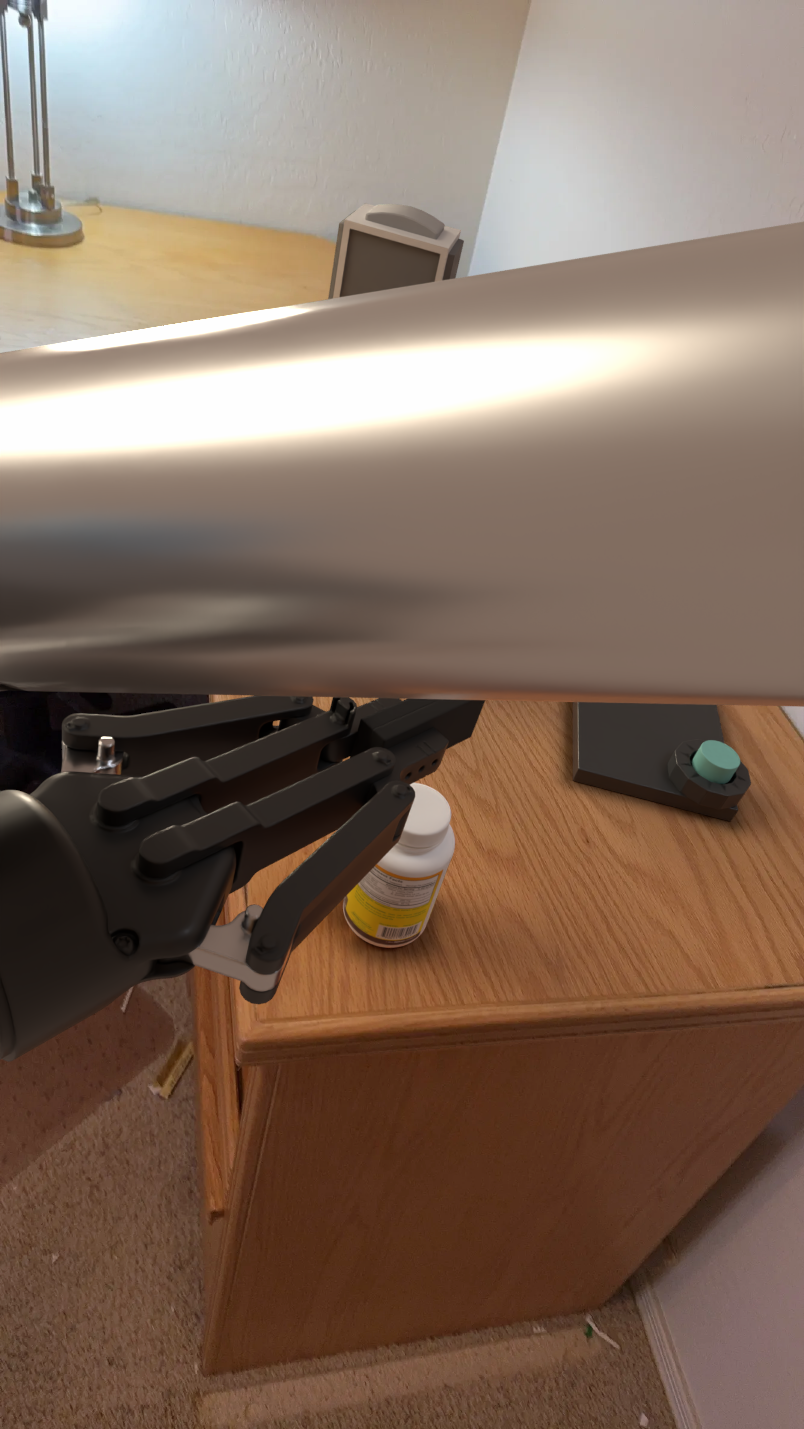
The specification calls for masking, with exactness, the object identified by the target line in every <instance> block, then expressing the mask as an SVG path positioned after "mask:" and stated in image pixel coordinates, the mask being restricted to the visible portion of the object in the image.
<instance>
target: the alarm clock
mask: <svg viewBox="0 0 804 1429" xmlns="http://www.w3.org/2000/svg"><path fill="white" fill-rule="evenodd" d="M461 232H462V229H459V228H455V227H451V226H448V225H445V223H444V222H442V221H441V220H440V219H439V218H437V217H435V215H432V214H430V213H428V212H426V211H425V210H422V209H419V208H417V207H415V206H411V205H405V204H399V203H382V204H376V205H373V204H369V203H367V202H365V203H363V204H362V205H361V206H359V207H358V208H357V209H355V210H353V212H351V213H350V214H348V216H346V217H345V218H344V219H342V220H341V221H340V222H338V229H337V235H336V243H335V247H334V248H335V250H334V257H333V263H332V270H331V277H330V283H329V291H328V298H327V299H333V298H339V297H345V296H351V295H357V294H363V293H369V292H376V291H382V290H388V289H394V288H400V287H406V286H412V285H418V284H424V283H431V282H437V281H443V280H449V279H455V278H457V273H458V269H459V265H460V260H461V256H462V252H463V247H464V244H465V240H463V239H462V238H460V236H461Z"/></svg>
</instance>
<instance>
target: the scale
mask: <svg viewBox="0 0 804 1429" xmlns="http://www.w3.org/2000/svg"><path fill="white" fill-rule="evenodd" d="M723 733H724V732H723V729H722V723H721V719H720V715H719V709H718V705H699V704H650V703H600V702H572V781H573V782H575V783H576V782H577V783H580V784H584V785H588V786H592V787H596V788H599V789H603V790H607V791H611V792H614V793H619V794H622V795H627V796H630V797H635V798H638V799H642V800H646V801H648V802H649V801H650V802H654V803H656V804H657V803H658V804H661V805H666V806H669V807H673V808H676V809H681V810H684V811H688V812H691V813H695V814H700V815H703V816H706V817H707V816H708V817H712V818H715V819H719V820H722V821H726V822H732V821H733V819H734V818H735V816H736V814H737V813H738V812H739V807H738V806H739V805H738V804H739V803H740V801H741V800H742V799H743V797H744V796H745V794H746V792H748V789H749V788H750V786H751V785H752V780H751V777H750V772H749V768H748V767H747V766H746V765H745V764H744V763H743V762H742V761H741V760H740V765H739V767H738V768H737V770H736V771H735V773H734V774H733V776H732V778H731V779H730V781H729V782H727V783H725V784H718V783H714V782H710V781H709V780H707V779H705V778H704V777H702V776H701V775H699V774H698V773H697V772H696V771H695V769H694V768H693V767H692V760H693V758H694V756H695V755H696V753H697V751H698V750H699V748H700V746H701V745H702V743H703V742H705V741H708V740H714V741H719V742H722V743H724V744H726V743H725V739H724V734H723Z"/></svg>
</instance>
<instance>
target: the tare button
mask: <svg viewBox="0 0 804 1429" xmlns="http://www.w3.org/2000/svg"><path fill="white" fill-rule="evenodd" d="M724 743H725V742H724ZM724 743H722V742H719V741H714V740H708V741H705V742H703V743H702V745H701V746H700V748H699V750H698V751H697V753H696V755H695V756H694V758H693V760H692V767H693V768H694V769H695V771H696V772H697V773H698V774H699V775H701V776H702V777H704V778H705V779H707V780H709V781H710V782H714V783H718V784H725V783H727V782H729V781H730V779H731V778H732V776H733V774H734V773H735V771H736V770H737V768H738V767H739V765H740V761H741V758H740V755H739V754H738V752H736V750H735V749H734V748H733V747H731V746H729V745H728V744H726V743H725V744H724Z"/></svg>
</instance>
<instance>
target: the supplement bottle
mask: <svg viewBox="0 0 804 1429" xmlns="http://www.w3.org/2000/svg"><path fill="white" fill-rule="evenodd" d="M410 786H411V787H413V789H414V791H415V799H414V802H413V804H412V807H411V810H410V813H409V815H408V818H407V821H406V824H405V827H404V829H403V832H402V835H401V838H400V840H399V841H398V843H397V844H396V845H395V846H394V847H393V848H392V849H391V850H390V851H389V852H388V853H387V854H386V855H385V856H384V857H383V858H382V859H381V860H380V861H379V862H378V863H377V864H376V865H375V866H374V868H373V869H372V870H371V871H370V872H369V873H368V874H367V875H366V876H365V877H364V878H363V879H362V880H361V881H360V882H359V883H358V884H357V885H356V886H355V887H354V888H353V889H352V890H351V891H350V892H349V893H348V894H347V896H346V897H345V898H344V899H343V900H342V901H343V902H342V909H343V916H344V919H345V921H346V923H347V925H348V926H349V928H350V930H351V931H352V932H353V933H354V934H355V935H356V936H357V937H358V938H360V939H361V940H363V941H365V942H366V943H368V944H370V945H373V946H376V947H380V948H388V949H389V948H390V949H393V948H401V947H404V946H406V945H410V944H411V943H413V942H414V941H416V940H417V939H419V937H420V936H421V935H422V934H423V933H424V931H425V929H426V927H427V925H428V923H429V920H430V917H431V915H432V913H433V910H434V907H435V904H436V901H437V899H438V896H439V894H440V891H441V889H442V885H443V882H444V880H445V877H446V875H447V872H448V869H449V867H450V864H451V863H452V862H451V861H452V859H453V856H454V853H455V848H456V837H455V833H454V830H453V828H452V825H451V821H452V809H451V806H450V804H449V802H448V800H447V798H446V797H445V796H444V795H443V794H442V793H441V792H439V791H438V790H437V789H435V788H433V787H431V786H428V785H427V784H424V783H419V782H414V783H412V784H410Z"/></svg>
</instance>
